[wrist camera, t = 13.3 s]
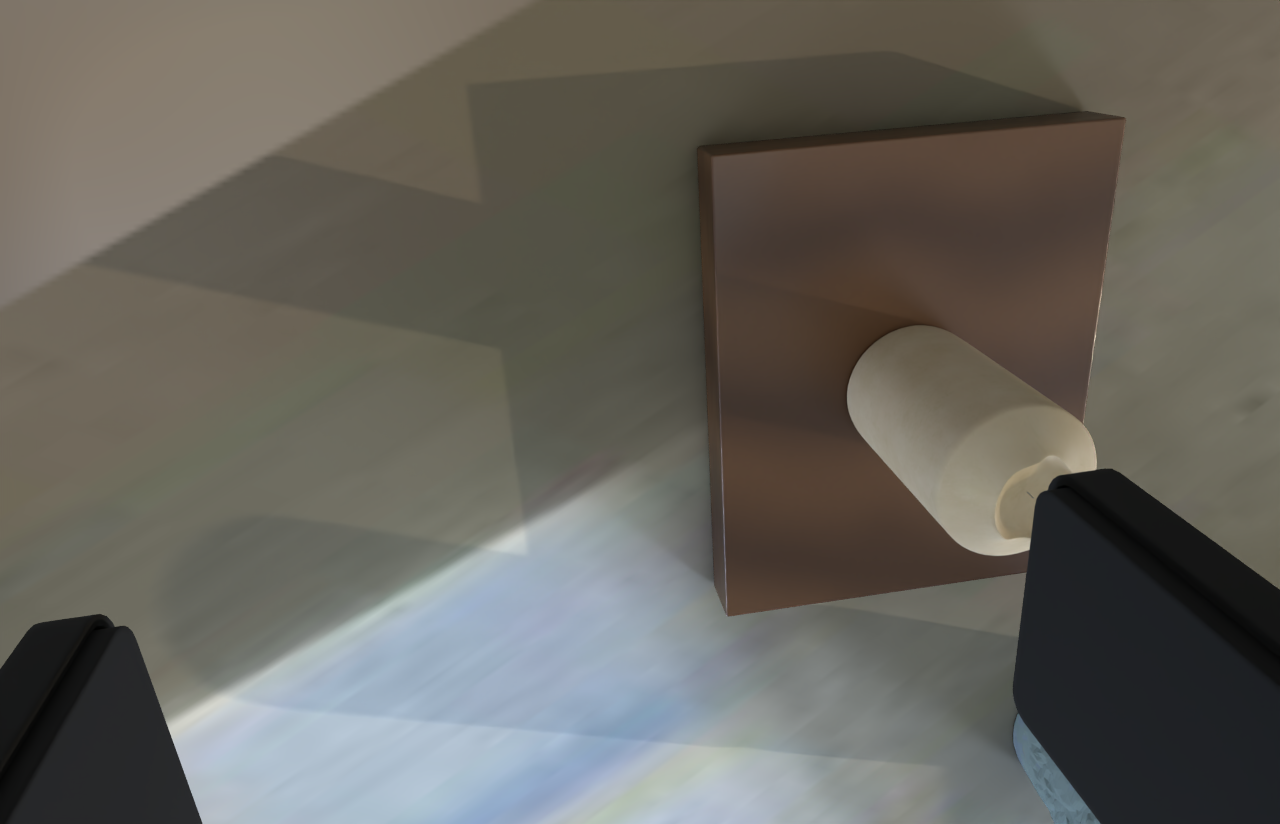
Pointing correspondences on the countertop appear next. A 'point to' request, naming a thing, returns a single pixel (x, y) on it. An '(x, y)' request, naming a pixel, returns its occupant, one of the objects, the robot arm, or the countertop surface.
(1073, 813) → the embossed blue pot
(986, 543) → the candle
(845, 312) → the serving board
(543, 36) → the countertop surface
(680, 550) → the countertop surface
